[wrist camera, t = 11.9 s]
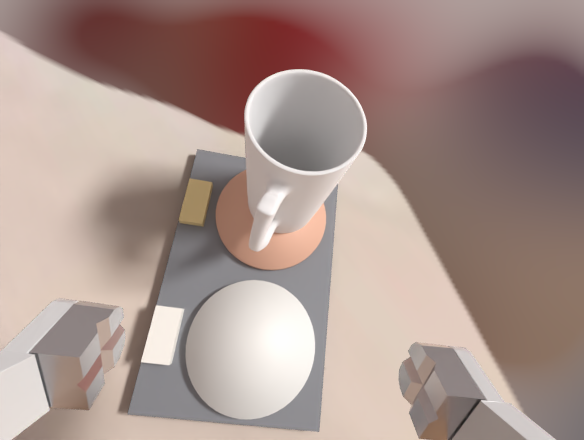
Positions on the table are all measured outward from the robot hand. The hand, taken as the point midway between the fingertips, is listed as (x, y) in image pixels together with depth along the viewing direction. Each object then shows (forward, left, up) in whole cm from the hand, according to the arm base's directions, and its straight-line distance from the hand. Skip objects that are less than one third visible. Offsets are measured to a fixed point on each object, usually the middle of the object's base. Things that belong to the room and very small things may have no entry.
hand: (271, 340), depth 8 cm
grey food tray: (-1, +4, -18) cm, 18 cm away
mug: (0, +9, -16) cm, 19 cm away
